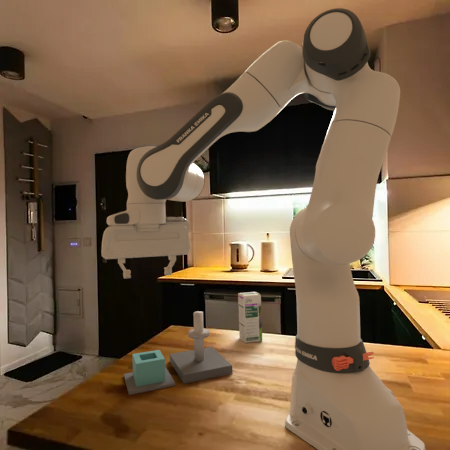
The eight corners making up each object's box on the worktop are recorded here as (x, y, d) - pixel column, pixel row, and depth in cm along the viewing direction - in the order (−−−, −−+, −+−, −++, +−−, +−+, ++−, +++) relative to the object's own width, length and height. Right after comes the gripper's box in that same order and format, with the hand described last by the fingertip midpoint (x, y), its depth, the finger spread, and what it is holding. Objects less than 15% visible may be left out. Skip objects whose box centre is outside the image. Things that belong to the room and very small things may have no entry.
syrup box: (244, 343, 100) (243, 295, 100) (238, 337, 105) (237, 292, 106) (262, 341, 101) (261, 294, 102) (255, 335, 107) (254, 290, 107)
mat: (175, 385, 74) (175, 382, 74) (128, 395, 70) (128, 392, 70) (165, 368, 83) (165, 366, 83) (124, 376, 79) (124, 373, 79)
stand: (232, 373, 79) (231, 315, 79) (183, 383, 75) (182, 322, 75) (212, 353, 92) (211, 304, 92) (169, 361, 88) (168, 309, 88)
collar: (165, 381, 75) (165, 358, 75) (136, 386, 72) (136, 363, 72) (159, 370, 81) (159, 349, 81) (132, 375, 78) (132, 354, 78)
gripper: (185, 217, 84) (187, 271, 84) (100, 218, 76) (101, 278, 76) (193, 216, 78) (194, 274, 78) (101, 217, 71) (102, 281, 70)
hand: (148, 276), depth 77 cm, fingers open, 8 cm apart
